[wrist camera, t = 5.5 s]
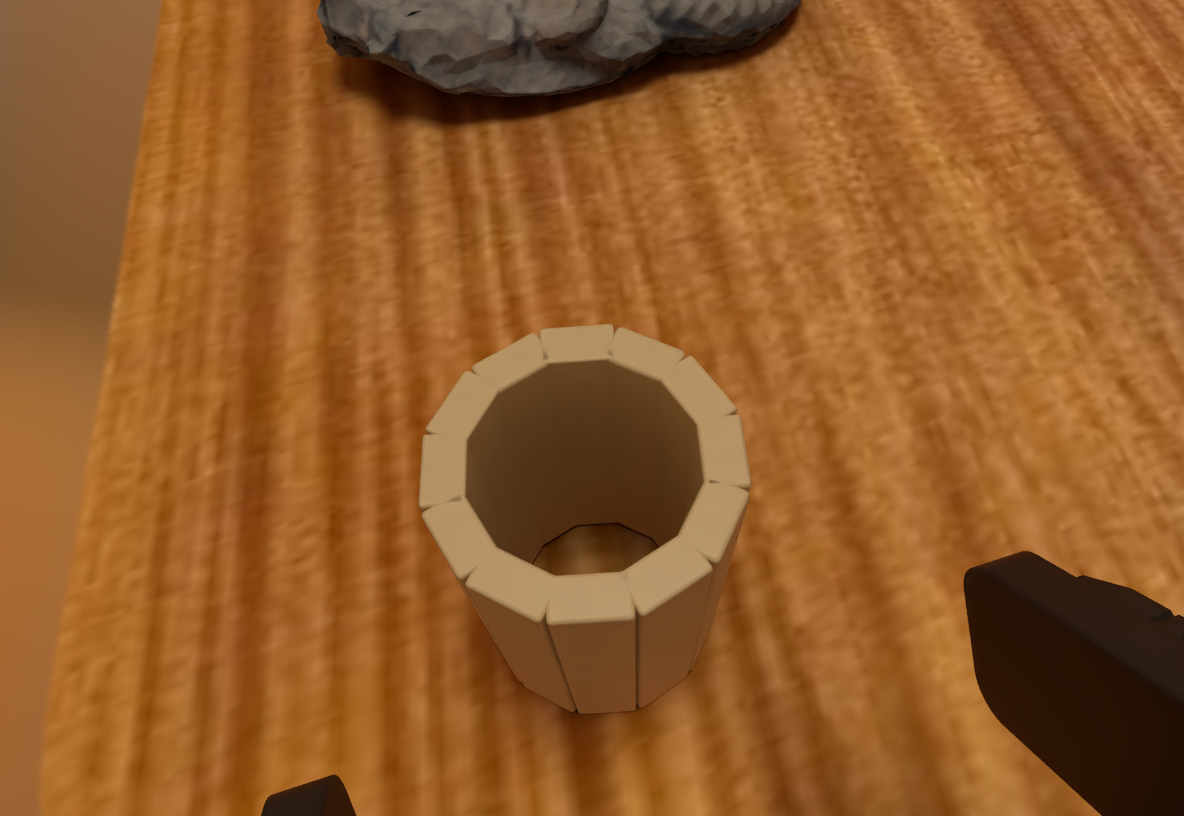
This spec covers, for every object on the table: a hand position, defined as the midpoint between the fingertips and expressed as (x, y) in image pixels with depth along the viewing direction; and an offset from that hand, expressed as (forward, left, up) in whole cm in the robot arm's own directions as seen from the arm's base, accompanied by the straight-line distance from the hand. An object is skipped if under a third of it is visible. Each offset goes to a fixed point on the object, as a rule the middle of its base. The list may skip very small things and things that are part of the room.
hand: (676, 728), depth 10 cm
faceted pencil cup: (+5, -1, -10) cm, 11 cm away
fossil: (+26, -14, -10) cm, 31 cm away
